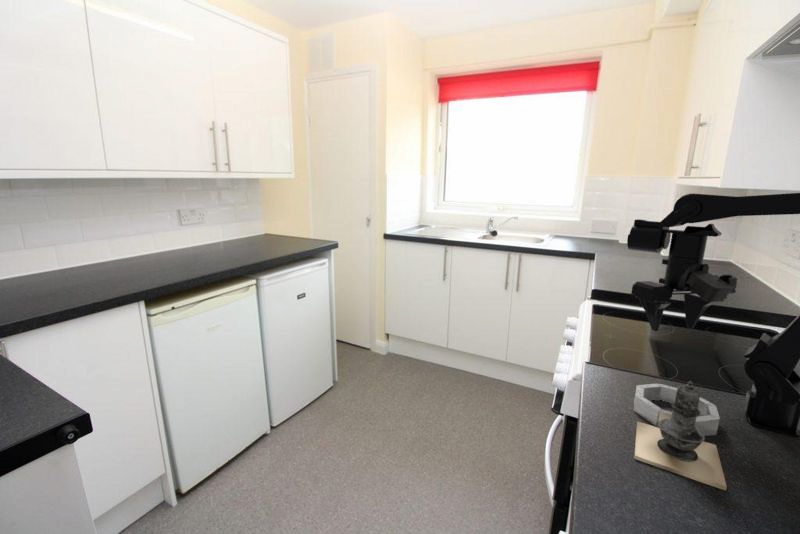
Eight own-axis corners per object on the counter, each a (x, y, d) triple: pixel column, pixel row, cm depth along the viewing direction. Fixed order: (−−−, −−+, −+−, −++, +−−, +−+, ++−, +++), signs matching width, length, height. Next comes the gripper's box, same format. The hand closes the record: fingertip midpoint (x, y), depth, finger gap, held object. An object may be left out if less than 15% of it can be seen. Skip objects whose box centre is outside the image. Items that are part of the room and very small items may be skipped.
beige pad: (715, 448, 62) (715, 445, 62) (726, 490, 53) (726, 487, 53) (636, 424, 68) (637, 421, 68) (634, 458, 59) (634, 455, 58)
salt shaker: (655, 433, 64) (667, 368, 62) (698, 447, 61) (712, 379, 59) (654, 452, 59) (668, 382, 57) (702, 468, 56) (718, 395, 54)
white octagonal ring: (710, 411, 73) (713, 397, 72) (719, 445, 62) (723, 429, 62) (635, 391, 79) (637, 378, 79) (632, 419, 69) (635, 404, 69)
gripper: (687, 264, 67) (672, 347, 70) (765, 263, 71) (748, 341, 74) (635, 254, 77) (623, 326, 80) (706, 253, 82) (693, 322, 85)
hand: (672, 329), depth 79 cm, fingers open, 9 cm apart
